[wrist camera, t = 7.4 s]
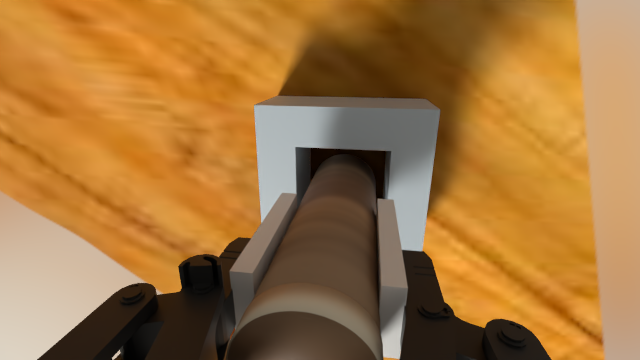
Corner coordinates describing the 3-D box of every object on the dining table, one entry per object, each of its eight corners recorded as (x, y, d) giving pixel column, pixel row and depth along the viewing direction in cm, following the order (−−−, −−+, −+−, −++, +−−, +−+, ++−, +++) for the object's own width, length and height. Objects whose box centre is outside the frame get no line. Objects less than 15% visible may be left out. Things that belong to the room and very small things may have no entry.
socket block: (277, 95, 23) (254, 105, 18) (425, 98, 22) (440, 109, 17) (282, 223, 27) (263, 258, 22) (410, 233, 25) (419, 272, 21)
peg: (313, 151, 21) (218, 300, 8) (378, 154, 21) (390, 319, 7) (313, 210, 22) (233, 418, 9) (374, 214, 22) (378, 441, 9)
